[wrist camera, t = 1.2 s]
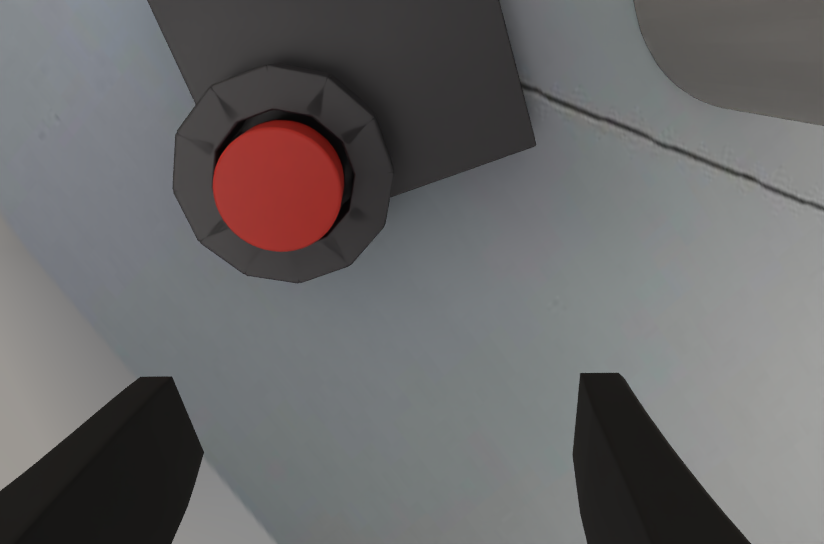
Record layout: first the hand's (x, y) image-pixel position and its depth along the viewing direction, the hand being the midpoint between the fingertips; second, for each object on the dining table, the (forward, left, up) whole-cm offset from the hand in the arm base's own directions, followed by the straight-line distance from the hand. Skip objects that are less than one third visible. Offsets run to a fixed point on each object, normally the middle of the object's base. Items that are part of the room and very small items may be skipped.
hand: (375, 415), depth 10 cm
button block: (+1, +6, -12) cm, 14 cm away
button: (-2, +3, -9) cm, 10 cm away
